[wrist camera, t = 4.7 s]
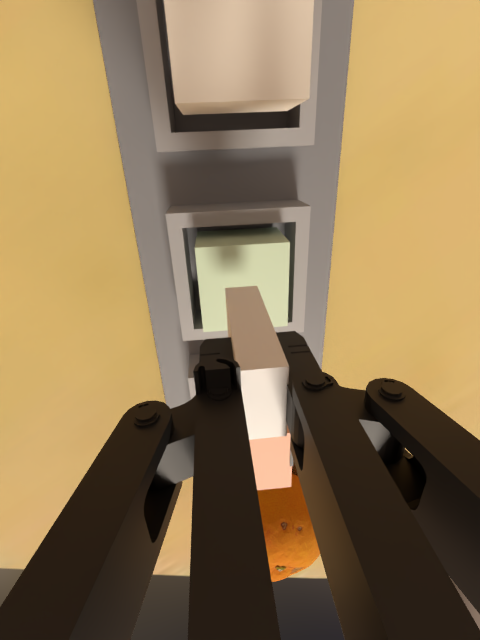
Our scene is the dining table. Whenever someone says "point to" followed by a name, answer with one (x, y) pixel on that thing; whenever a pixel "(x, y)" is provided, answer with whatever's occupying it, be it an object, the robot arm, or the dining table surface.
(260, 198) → the button board
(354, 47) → the dining table surface
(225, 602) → the robot arm
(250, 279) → the button sage
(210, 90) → the button ivory
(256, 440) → the button terracotta
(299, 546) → the fruit
